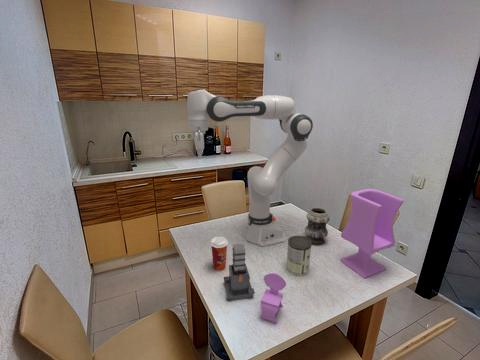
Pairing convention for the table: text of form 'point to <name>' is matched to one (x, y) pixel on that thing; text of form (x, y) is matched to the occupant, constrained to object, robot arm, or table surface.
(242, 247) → the column
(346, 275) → the table surface
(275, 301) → the toy chair
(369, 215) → the purple pedestal armchair
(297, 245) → the coffee can
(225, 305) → the table surface
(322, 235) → the apothecary jar
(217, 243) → the paper cup
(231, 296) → the stand
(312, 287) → the table surface
